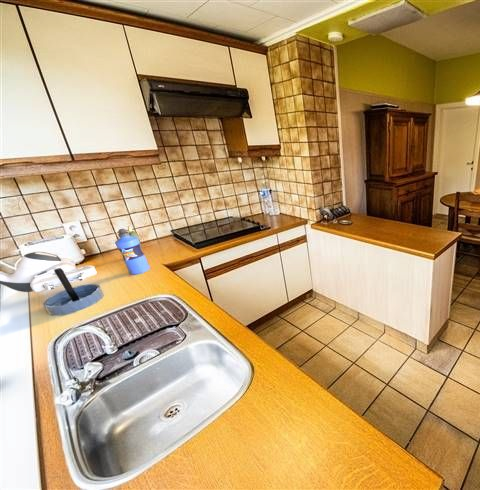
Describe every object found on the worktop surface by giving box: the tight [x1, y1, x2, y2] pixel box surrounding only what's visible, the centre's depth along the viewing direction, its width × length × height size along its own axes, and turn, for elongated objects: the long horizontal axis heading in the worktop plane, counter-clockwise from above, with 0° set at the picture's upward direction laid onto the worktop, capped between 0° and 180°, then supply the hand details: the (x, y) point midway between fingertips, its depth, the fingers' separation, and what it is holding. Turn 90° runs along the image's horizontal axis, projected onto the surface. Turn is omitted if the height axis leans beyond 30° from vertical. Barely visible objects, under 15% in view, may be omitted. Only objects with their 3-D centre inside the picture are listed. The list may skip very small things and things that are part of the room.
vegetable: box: [127, 225, 143, 251], centre depth 165 cm, size 4×4×20 cm
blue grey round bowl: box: [42, 283, 105, 317], centre depth 118 cm, size 18×18×6 cm
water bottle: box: [114, 228, 151, 276], centre depth 144 cm, size 9×9×25 cm
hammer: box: [54, 268, 84, 303], centre depth 115 cm, size 6×6×18 cm
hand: (66, 283), depth 117 cm, fingers open, 8 cm apart
